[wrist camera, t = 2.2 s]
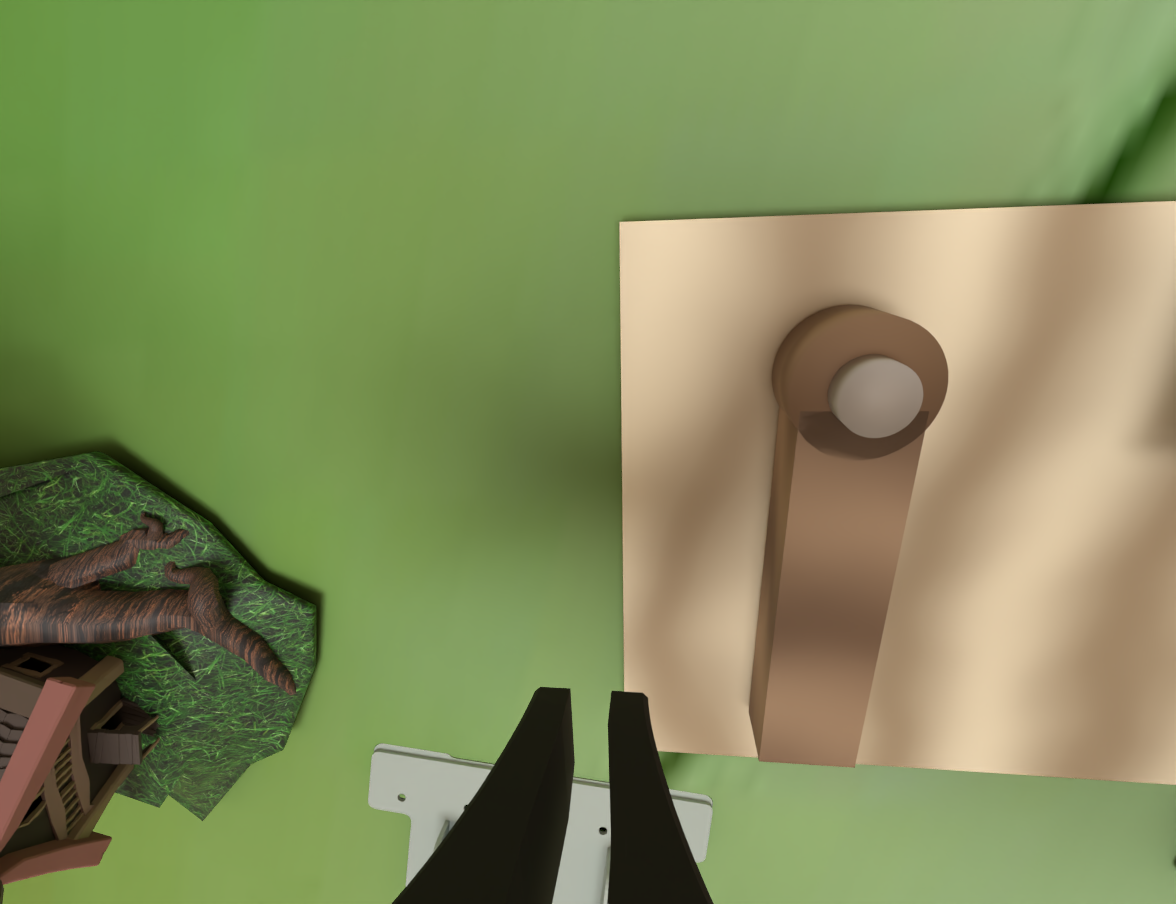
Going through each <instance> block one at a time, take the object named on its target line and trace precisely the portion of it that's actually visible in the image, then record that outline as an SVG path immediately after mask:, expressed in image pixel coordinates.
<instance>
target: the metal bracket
mask: <svg viewBox="0 0 1176 904" xmlns="http://www.w3.org/2000/svg"><path fill="white" fill-rule="evenodd" d="M494 765H495V764H490V763H484V762H478V761H472V760H465V759H459V758H454V757H451V756H450V755H449V754H445V753H439V752H433V751H426V750H420V749H414V748H408V747H401V746H395V745H389V744H378V745H377V746H376V747H375V749H374V753H373V755H372V761H371V774H370V786H369V798H368V802H369V805H370V806H371V807H372V808H375V809H379V810H385V811H391V812H397V813H403V814H406V815H408V816H409V817H410V818H411V832H410V843H409V854H408V865H407V877H406V886H407V885H408V884H409V883H410V881H411V880H412V879H413V878H414V876H415V875H416V874H417V873H418V871H419V870H420V869H421V868H422V867H423V865H424V864H425V863H426V862H427V860H428V859H429V858H430V856H431V855H432V854H433V853H434V851H435V850H436V849H437V847H438V846H439V845H440V843H441V842H442V841H443V839H444V838H445V837H446V835H447V834H448V833H449V831H450V830H451V828H452V827H453V826H454V824H455V823H456V821H457V820H458V818H459V817H460V816H461V814H462V813H463V811H464V810H465V805H468V804H469V803H470V801H471V800H472V798H473V797H474V796H475V794H476V793H477V791H478V790H479V788H480V787H481V785H482V784H483V782H484V781H485V779H486V777H487V776H488V774H489V773H490V771H491V769H492V768H493V766H494ZM669 791H670V794H671V797H672V800H673V803H674V807H675V809H676V812H677V815H678V818H679V820H680V823H681V826H682V829H683V831H684V834H685V836H686V839H687V842H688V844H689V847H690V849H691V852H692V855H693V857H694V860H695V862H702V861H704V860H705V858H706V852H707V845H708V839H709V832H710V826H711V819H712V805H713V804H712V799H711V798H710V797H708V796H707V795H702V794H696V793H689V792H683V791H677V790H671V789H669ZM399 794H404V795H405V796H406V798H401V797H400V796H399ZM601 827H605V828H606V829H607V831H600V830H599V828H601ZM610 852H611V821H610V783H609V782H603V781H597V780H590V779H584V778H578V777H573V783H572V793H571V802H570V811H569V820H568V825H567V831H566V836H565V841H564V846H563V851H562V856H561V861H560V866H559V872H558V877H557V882H556V887H555V892H554V897H553V902H552V904H607V900H608V886H609V872H610Z"/></svg>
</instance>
